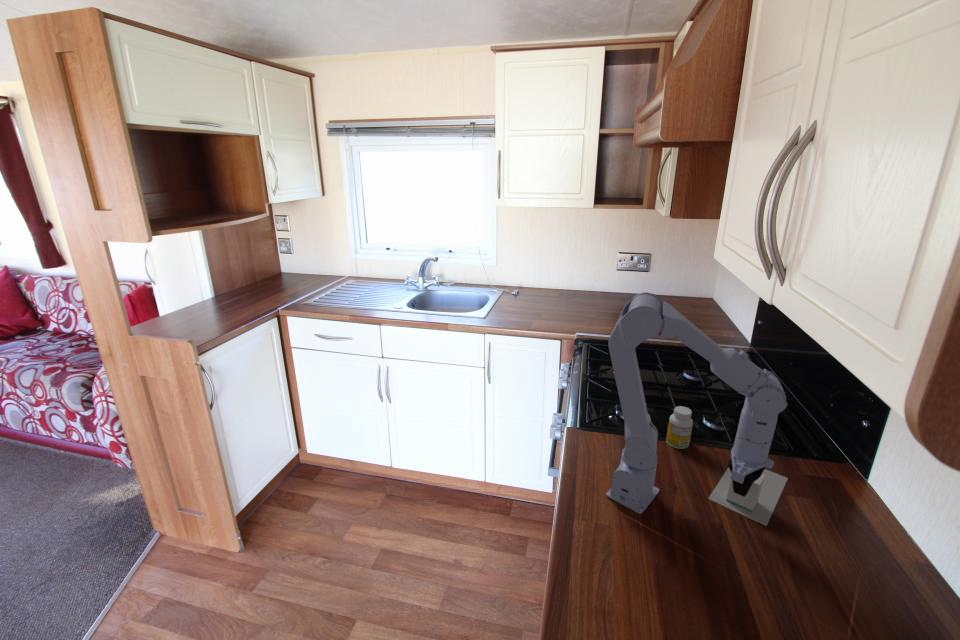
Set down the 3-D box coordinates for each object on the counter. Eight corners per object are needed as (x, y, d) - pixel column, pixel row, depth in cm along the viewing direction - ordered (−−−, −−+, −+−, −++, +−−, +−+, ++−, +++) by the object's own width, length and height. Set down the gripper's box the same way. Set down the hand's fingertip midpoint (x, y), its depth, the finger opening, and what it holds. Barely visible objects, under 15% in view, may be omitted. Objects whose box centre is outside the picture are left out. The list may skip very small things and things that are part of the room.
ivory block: (752, 512, 93) (759, 485, 91) (726, 500, 96) (732, 473, 94) (757, 502, 96) (765, 475, 93) (732, 490, 99) (738, 464, 97)
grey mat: (766, 527, 90) (766, 526, 90) (707, 499, 97) (708, 498, 97) (787, 479, 103) (788, 478, 103) (734, 458, 110) (735, 457, 110)
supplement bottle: (669, 434, 119) (675, 402, 116) (691, 442, 116) (697, 409, 112) (662, 444, 115) (668, 411, 112) (684, 452, 112) (691, 418, 109)
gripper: (768, 462, 78) (752, 524, 83) (787, 427, 88) (772, 483, 93) (724, 445, 82) (711, 504, 87) (747, 413, 92) (734, 468, 97)
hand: (739, 492), depth 90 cm, fingers closed
